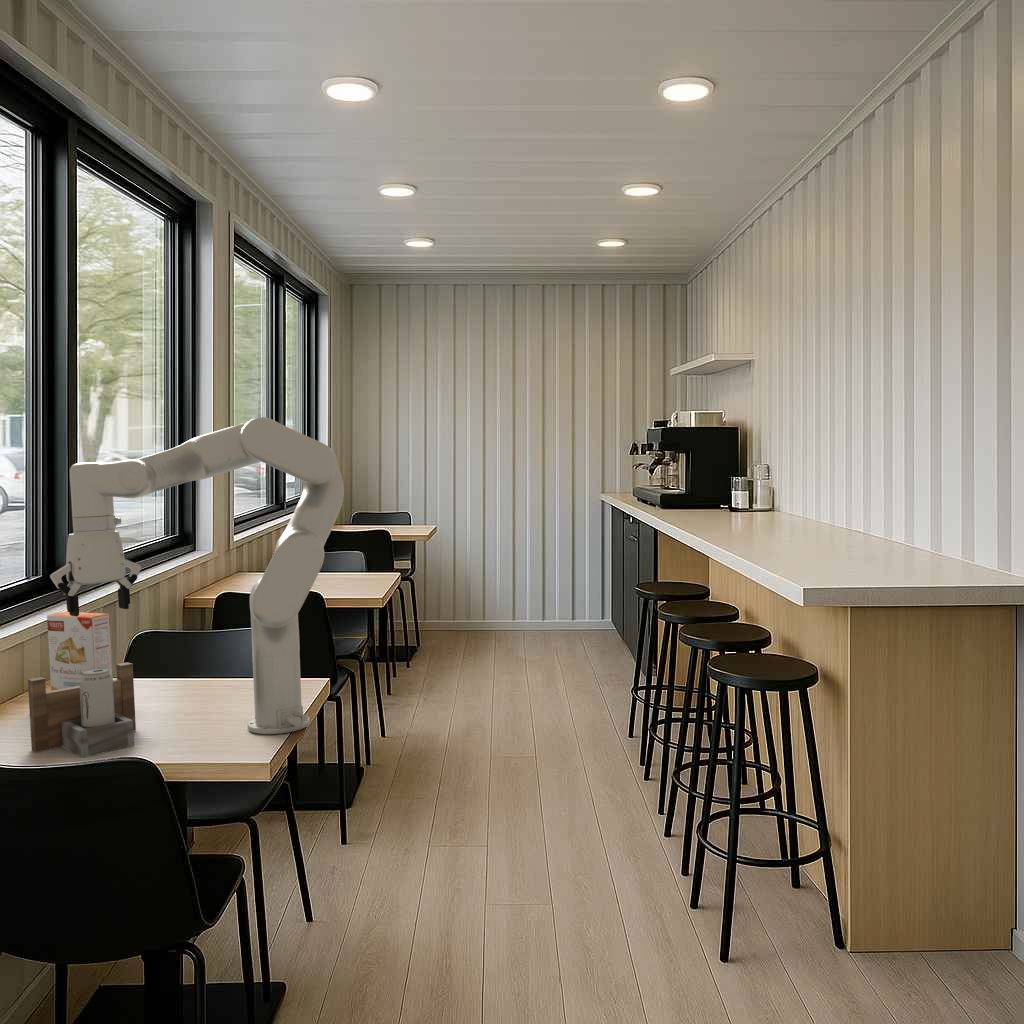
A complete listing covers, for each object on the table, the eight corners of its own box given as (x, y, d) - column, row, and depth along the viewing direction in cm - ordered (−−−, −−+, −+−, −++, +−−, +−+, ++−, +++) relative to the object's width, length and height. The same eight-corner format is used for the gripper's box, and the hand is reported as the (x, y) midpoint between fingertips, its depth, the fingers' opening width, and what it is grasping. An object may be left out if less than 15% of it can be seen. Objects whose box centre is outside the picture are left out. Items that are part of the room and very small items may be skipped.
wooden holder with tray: (158, 739, 191) (154, 670, 190) (55, 763, 177) (51, 689, 176) (131, 728, 200) (127, 662, 199) (31, 749, 186) (27, 679, 185)
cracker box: (50, 702, 224) (45, 614, 223) (70, 696, 230) (66, 610, 229) (95, 706, 219) (90, 616, 218) (115, 700, 225) (110, 612, 223)
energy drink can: (77, 747, 187) (73, 671, 186) (106, 739, 192) (102, 666, 191) (92, 752, 183) (88, 675, 182) (122, 745, 188) (118, 669, 187)
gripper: (129, 521, 195) (134, 604, 196) (40, 528, 183) (46, 616, 184) (145, 522, 190) (150, 607, 191) (55, 529, 178) (61, 620, 179)
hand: (99, 611), depth 187 cm, fingers open, 9 cm apart
